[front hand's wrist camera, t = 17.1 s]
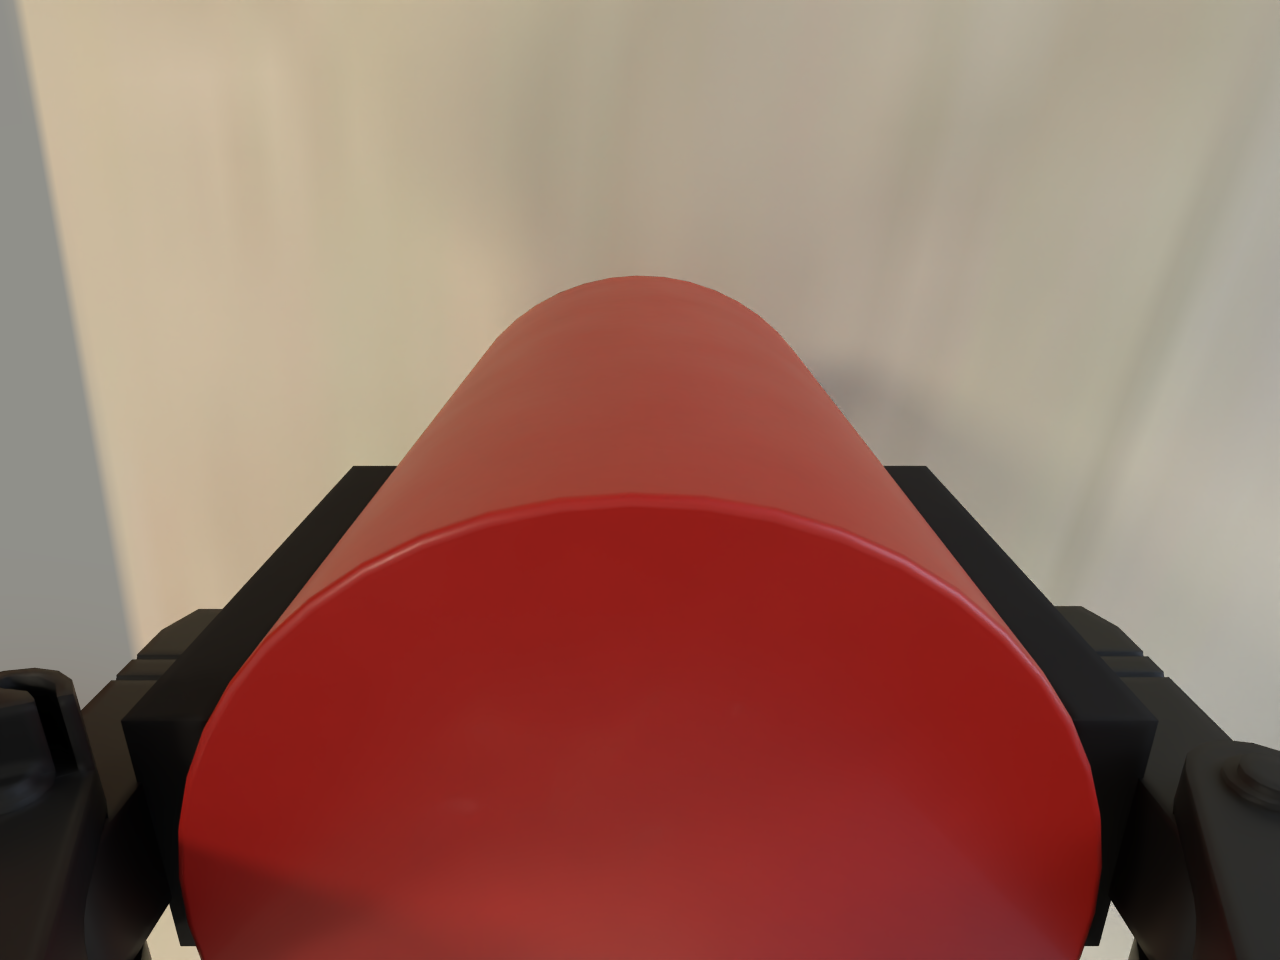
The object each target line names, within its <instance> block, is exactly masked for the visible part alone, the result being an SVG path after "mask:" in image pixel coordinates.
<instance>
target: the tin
mask: <svg viewBox="0 0 1280 960" xmlns="http://www.w3.org/2000/svg"><path fill="white" fill-rule="evenodd" d="M178 845H179V880H180V886H181V891H182V896H183V901H184V906H185V912H186V917H187V922H188V925H189V928H190V931H191V934H192V936H193V939H194V942H195V944H196V947H197V950H198V953H199V955H200V958H201V960H1079V959H1080V957H1081V955H1082V951H1083V948H1084V945H1085V942H1086V939H1087V936H1088V933H1089V930H1090V927H1091V924H1092V921H1093V918H1094V915H1095V910H1096V903H1097V897H1098V890H1099V883H1100V877H1101V870H1102V851H1101V818H1100V811H1099V806H1098V801H1097V796H1096V791H1095V786H1094V781H1093V776H1092V772H1091V767H1090V764H1089V761H1088V759H1087V756H1086V754H1085V751H1084V749H1083V746H1082V743H1081V741H1080V738H1079V736H1078V733H1077V731H1076V728H1075V726H1074V723H1073V721H1072V718H1071V717H1070V715H1069V713H1068V712H1067V710H1066V708H1065V707H1064V705H1063V703H1062V702H1061V700H1060V699H1059V697H1058V695H1057V694H1056V692H1055V690H1054V689H1053V687H1052V685H1051V684H1050V682H1049V681H1048V679H1047V677H1046V676H1045V674H1044V672H1043V671H1042V670H1041V668H1040V667H1039V666H1038V665H1037V663H1036V662H1035V661H1034V659H1033V658H1032V657H1031V656H1030V654H1029V653H1028V652H1027V650H1026V649H1025V648H1024V647H1023V645H1022V644H1021V643H1020V641H1019V640H1018V639H1017V638H1016V636H1015V635H1014V634H1013V632H1012V631H1011V630H1010V629H1009V627H1008V626H1007V625H1006V623H1005V622H1004V621H1003V620H1002V618H1001V617H1000V616H999V614H998V613H997V612H996V611H995V609H994V608H993V607H992V605H991V604H990V603H989V602H988V600H987V599H986V598H985V596H984V595H983V594H982V593H981V591H980V590H979V589H978V587H977V586H976V585H975V584H974V582H973V581H972V580H971V578H970V577H969V576H968V575H967V573H966V572H965V571H964V569H963V568H962V567H961V566H960V564H959V563H958V562H957V560H956V559H955V558H954V557H953V555H952V554H951V553H950V551H949V550H948V549H947V548H946V546H945V545H944V544H943V542H942V541H941V540H940V539H939V537H938V536H937V535H936V533H935V532H934V531H933V530H932V528H931V527H930V526H929V524H928V523H927V522H926V521H925V519H924V518H923V517H922V515H921V514H920V513H919V511H918V510H917V509H916V508H915V506H914V505H913V504H912V502H911V501H910V500H909V499H908V497H907V496H906V495H905V493H904V492H903V491H902V490H901V488H900V487H899V486H898V484H897V483H896V482H895V481H894V479H893V478H892V477H891V475H890V474H889V473H888V472H887V470H886V469H885V468H884V466H883V465H882V464H881V463H880V461H879V460H878V459H877V457H876V456H875V455H874V454H873V452H872V451H871V450H870V448H869V447H868V446H867V445H866V443H865V442H864V441H863V439H862V438H861V437H860V436H859V434H858V433H857V432H856V430H855V429H854V428H853V427H852V425H851V424H850V423H849V421H848V420H847V419H846V418H845V416H844V415H843V414H842V412H841V411H840V410H839V409H838V407H837V406H836V405H835V403H834V402H833V401H832V400H831V398H830V397H829V396H828V394H827V393H826V392H825V391H824V389H823V388H822V387H821V385H820V384H819V383H818V382H817V380H816V379H815V378H814V376H813V375H812V374H811V373H810V371H809V370H808V369H807V367H806V366H805V365H804V364H803V362H802V361H801V360H800V358H799V357H798V356H797V355H796V353H795V352H794V351H793V350H792V348H791V347H790V346H789V345H788V344H787V343H786V341H785V340H784V339H783V338H782V337H781V336H780V334H779V333H778V332H777V331H776V330H774V329H773V328H772V327H771V326H770V325H769V324H768V323H767V322H766V321H764V320H763V319H762V318H761V317H760V316H759V315H757V314H756V313H754V312H753V311H751V310H750V309H748V308H747V307H745V306H744V305H742V304H741V303H739V302H738V301H736V300H734V299H731V298H729V297H727V296H725V295H723V294H721V293H719V292H717V291H715V290H712V289H709V288H706V287H703V286H700V285H697V284H694V283H691V282H687V281H682V280H676V279H671V278H665V277H651V276H628V277H616V278H608V279H603V280H599V281H594V282H590V283H585V284H582V285H580V286H577V287H574V288H571V289H569V290H566V291H563V292H560V293H558V294H556V295H555V296H553V297H551V298H549V299H547V300H545V301H543V302H541V303H539V304H538V305H536V306H535V307H533V308H532V309H530V310H529V311H528V312H526V313H525V314H523V315H522V316H521V317H519V318H518V319H516V320H515V321H514V322H513V323H512V324H511V325H510V326H509V327H508V328H507V329H506V330H505V331H504V332H503V333H502V334H501V335H500V336H499V337H498V338H497V339H496V340H495V341H494V343H493V344H492V345H491V346H490V348H489V349H488V350H487V351H486V353H485V354H484V355H483V356H482V358H481V359H480V360H479V362H478V363H477V364H476V365H475V367H474V368H473V369H472V371H471V372H470V373H469V375H468V376H467V377H466V378H465V380H464V381H463V382H462V384H461V385H460V386H459V387H458V389H457V390H456V391H455V393H454V394H453V395H452V396H451V398H450V399H449V400H448V402H447V403H446V404H445V405H444V407H443V408H442V409H441V411H440V412H439V413H438V414H437V416H436V417H435V418H434V420H433V421H432V422H431V423H430V425H429V426H428V427H427V429H426V430H425V431H424V432H423V434H422V435H421V436H420V438H419V439H418V440H417V441H416V443H415V444H414V445H413V447H412V448H411V449H410V450H409V452H408V453H407V454H406V456H405V457H404V458H403V460H402V461H401V462H400V463H399V465H398V466H397V467H396V469H395V470H394V471H393V472H392V474H391V475H390V476H389V478H388V479H387V480H386V481H385V483H384V484H383V485H382V487H381V488H380V489H379V490H378V492H377V493H376V494H375V496H374V497H373V498H372V499H371V501H370V502H369V503H368V505H367V506H366V507H365V508H364V510H363V511H362V512H361V514H360V515H359V516H358V517H357V519H356V520H355V521H354V523H353V524H352V525H351V526H350V528H349V529H348V530H347V532H346V533H345V534H344V536H343V537H342V538H341V539H340V541H339V542H338V543H337V545H336V546H335V547H334V548H333V550H332V551H331V552H330V554H329V555H328V556H327V557H326V559H325V560H324V561H323V563H322V564H321V565H320V566H319V568H318V569H317V570H316V572H315V573H314V574H313V575H312V577H311V578H310V579H309V581H308V582H307V583H306V584H305V586H304V587H303V588H302V590H301V591H300V592H299V593H298V595H297V596H296V597H295V599H294V600H293V601H292V602H291V604H290V605H289V606H288V608H287V609H286V610H285V612H284V613H283V614H282V615H281V617H280V618H279V619H278V621H277V622H276V623H275V624H274V626H273V627H272V628H271V630H270V631H269V632H268V633H267V635H266V636H265V637H264V639H263V640H262V641H261V642H260V644H259V645H258V646H257V648H256V649H255V650H254V651H253V653H252V654H251V655H250V657H249V658H248V659H247V660H246V662H245V663H244V664H243V666H242V667H241V668H240V669H239V671H238V672H237V673H236V675H235V676H234V677H233V678H232V680H231V681H230V682H229V684H228V686H227V687H226V689H225V691H224V693H223V695H222V696H221V698H220V700H219V702H218V704H217V705H216V707H215V709H214V711H213V713H212V714H211V716H210V718H209V720H208V722H207V723H206V725H205V727H204V729H203V731H202V734H201V737H200V740H199V743H198V746H197V749H196V751H195V754H194V757H193V760H192V763H191V766H190V769H189V772H188V774H187V778H186V784H185V790H184V796H183V803H182V809H181V815H180V821H179V829H178Z"/></svg>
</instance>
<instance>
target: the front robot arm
mask: <svg viewBox="0 0 1280 960" xmlns="http://www.w3.org/2000/svg"><path fill="white" fill-rule="evenodd" d="M396 467H397V466H353V467H352V468H351V469H350V470H349V471H348V472H347V474H346V475H345V476H344V477H343V478H342V479H341V480H340V481H339V482H338V483H337V484H336V486H335V487H334V488H333V489H332V490H331V491H330V492H329V493H328V494H327V495H326V497H325V498H324V499H323V500H322V501H321V502H320V503H319V504H318V505H317V506H316V507H315V509H314V510H313V511H312V512H311V513H310V514H309V515H308V516H307V517H306V518H305V520H304V521H303V522H302V523H301V524H300V525H299V526H298V527H297V528H296V529H295V530H294V532H293V533H292V534H291V535H290V536H289V537H288V538H287V539H286V540H285V541H284V542H283V544H282V545H281V546H280V547H279V548H278V549H277V550H276V551H275V552H274V553H273V555H272V556H271V557H270V558H269V559H268V560H267V561H266V562H265V563H264V564H263V565H262V567H261V568H260V569H259V570H258V571H257V572H256V573H255V574H254V575H253V576H252V577H251V579H250V580H249V581H248V582H247V583H246V584H245V585H244V586H243V587H242V588H241V590H240V591H239V592H238V593H237V594H236V595H235V596H234V597H233V598H232V599H231V600H230V602H229V603H228V604H227V605H226V606H225V607H224V608H223V609H198V610H196V611H194V612H193V613H191V614H189V615H187V616H186V617H184V618H182V619H180V620H179V621H177V622H175V623H173V624H172V625H170V626H168V627H166V628H164V629H163V630H161V631H160V632H159V633H158V634H157V635H156V636H155V637H154V638H153V639H152V640H151V641H150V642H149V643H148V644H147V645H146V646H145V647H144V648H143V649H142V650H141V651H140V652H139V653H138V654H137V659H136V660H131V661H130V662H129V663H128V664H127V665H126V666H125V667H124V668H123V669H122V670H121V671H120V672H119V673H118V674H117V678H116V680H115V681H114V680H111V681H110V682H109V683H108V684H107V685H106V686H105V687H104V688H103V689H102V690H101V691H100V692H99V693H98V694H97V695H96V696H95V697H94V698H93V699H92V700H91V701H90V702H89V703H88V704H87V705H86V706H85V707H84V708H83V709H82V710H80V706H79V703H78V699H77V696H76V692H75V689H74V685H73V682H72V680H71V679H70V678H68V677H67V676H65V675H64V674H62V673H61V672H59V671H55V670H48V669H40V668H29V669H19V670H9V671H2V672H0V960H152V959H151V955H150V952H149V948H148V944H147V941H146V939H147V938H148V936H149V935H150V933H151V931H152V930H153V928H154V927H155V925H156V923H157V922H158V920H159V919H160V917H161V916H162V914H163V912H164V911H165V909H166V908H167V906H168V904H169V905H170V908H171V912H172V916H173V920H174V923H175V927H176V931H177V935H178V938H179V942H180V946H196V944H195V942H194V939H193V936H192V934H191V931H190V928H189V925H188V922H187V917H186V912H185V906H184V901H183V896H182V891H181V886H180V880H179V845H178V829H179V821H180V815H181V809H182V803H183V796H184V790H185V784H186V778H187V774H188V772H189V769H190V766H191V763H192V760H193V757H194V754H195V751H196V749H197V746H198V743H199V740H200V737H201V734H202V731H203V729H204V727H205V725H206V723H207V722H208V720H209V718H210V716H211V714H212V713H213V711H214V709H215V707H216V705H217V704H218V702H219V700H220V698H221V696H222V695H223V693H224V691H225V689H226V687H227V686H228V684H229V682H230V681H231V680H232V678H233V677H234V676H235V675H236V673H237V672H238V671H239V669H240V668H241V667H242V666H243V664H244V663H245V662H246V660H247V659H248V658H249V657H250V655H251V654H252V653H253V651H254V650H255V649H256V648H257V646H258V645H259V644H260V642H261V641H262V640H263V639H264V637H265V636H266V635H267V633H268V632H269V631H270V630H271V628H272V627H273V626H274V624H275V623H276V622H277V621H278V619H279V618H280V617H281V615H282V614H283V613H284V612H285V610H286V609H287V608H288V606H289V605H290V604H291V602H292V601H293V600H294V599H295V597H296V596H297V595H298V593H299V592H300V591H301V590H302V588H303V587H304V586H305V584H306V583H307V582H308V581H309V579H310V578H311V577H312V575H313V574H314V573H315V572H316V570H317V569H318V568H319V566H320V565H321V564H322V563H323V561H324V560H325V559H326V557H327V556H328V555H329V554H330V552H331V551H332V550H333V548H334V547H335V546H336V545H337V543H338V542H339V541H340V539H341V538H342V537H343V536H344V534H345V533H346V532H347V530H348V529H349V528H350V526H351V525H352V524H353V523H354V521H355V520H356V519H357V517H358V516H359V515H360V514H361V512H362V511H363V510H364V508H365V507H366V506H367V505H368V503H369V502H370V501H371V499H372V498H373V497H374V496H375V494H376V493H377V492H378V490H379V489H380V488H381V487H382V485H383V484H384V483H385V481H386V480H387V479H388V478H389V476H390V475H391V474H392V472H393V471H394V470H395V469H396ZM884 468H885V469H886V470H887V472H888V473H889V474H890V475H891V477H892V478H893V479H894V481H895V482H896V483H897V484H898V486H899V487H900V488H901V490H902V491H903V492H904V493H905V495H906V496H907V497H908V499H909V500H910V501H911V502H912V504H913V505H914V506H915V508H916V509H917V510H918V511H919V513H920V514H921V515H922V517H923V518H924V519H925V521H926V522H927V523H928V524H929V526H930V527H931V528H932V530H933V531H934V532H935V533H936V535H937V536H938V537H939V539H940V540H941V541H942V542H943V544H944V545H945V546H946V548H947V549H948V550H949V551H950V553H951V554H952V555H953V557H954V558H955V559H956V560H957V562H958V563H959V564H960V566H961V567H962V568H963V569H964V571H965V572H966V573H967V575H968V576H969V577H970V578H971V580H972V581H973V582H974V584H975V585H976V586H977V587H978V589H979V590H980V591H981V593H982V594H983V595H984V596H985V598H986V599H987V600H988V602H989V603H990V604H991V605H992V607H993V608H994V609H995V611H996V612H997V613H998V614H999V616H1000V617H1001V618H1002V620H1003V621H1004V622H1005V623H1006V625H1007V626H1008V627H1009V629H1010V630H1011V631H1012V632H1013V634H1014V635H1015V636H1016V638H1017V639H1018V640H1019V641H1020V643H1021V644H1022V645H1023V647H1024V648H1025V649H1026V650H1027V652H1028V653H1029V654H1030V656H1031V657H1032V658H1033V659H1034V661H1035V662H1036V663H1037V665H1038V666H1039V667H1040V668H1041V670H1042V671H1043V672H1044V674H1045V676H1046V677H1047V679H1048V681H1049V682H1050V684H1051V685H1052V687H1053V689H1054V690H1055V692H1056V694H1057V695H1058V697H1059V699H1060V700H1061V702H1062V703H1063V705H1064V707H1065V708H1066V710H1067V712H1068V713H1069V715H1070V717H1071V718H1072V721H1073V723H1074V726H1075V728H1076V731H1077V733H1078V736H1079V738H1080V741H1081V743H1082V746H1083V749H1084V751H1085V754H1086V756H1087V759H1088V761H1089V764H1090V767H1091V772H1092V776H1093V781H1094V786H1095V791H1096V796H1097V801H1098V806H1099V811H1100V818H1101V851H1102V870H1101V877H1100V883H1099V890H1098V897H1097V903H1096V910H1095V915H1094V918H1093V921H1092V924H1091V927H1090V930H1089V933H1088V936H1087V939H1086V942H1085V945H1084V946H1099V943H1100V940H1101V936H1102V932H1103V928H1104V925H1105V921H1106V917H1107V913H1108V910H1109V906H1110V902H1111V901H1112V902H1113V904H1114V906H1115V907H1116V909H1117V910H1118V912H1119V913H1120V915H1121V917H1122V918H1123V920H1124V921H1125V923H1126V925H1127V926H1128V928H1129V929H1130V931H1131V933H1132V934H1133V936H1134V941H1133V944H1132V948H1131V952H1130V955H1129V959H1128V960H1280V751H1278V750H1274V749H1271V748H1268V747H1264V746H1261V745H1258V744H1254V743H1247V742H1239V741H1233V740H1232V739H1231V738H1230V737H1229V736H1228V735H1227V734H1226V733H1225V732H1224V731H1223V730H1222V729H1221V728H1220V727H1219V726H1218V725H1217V724H1216V723H1215V722H1214V721H1213V720H1212V719H1211V718H1210V717H1209V716H1208V715H1207V714H1206V713H1204V712H1203V711H1202V710H1201V709H1200V708H1199V707H1198V706H1197V705H1196V704H1195V703H1194V702H1193V701H1192V700H1191V699H1190V698H1189V697H1188V696H1187V695H1186V694H1185V693H1184V692H1183V691H1182V690H1181V689H1180V688H1179V687H1178V686H1177V685H1176V684H1175V683H1174V682H1173V681H1172V680H1171V679H1170V678H1169V677H1164V672H1163V671H1162V670H1161V669H1160V668H1159V667H1158V666H1157V665H1156V664H1155V663H1154V662H1153V661H1152V660H1151V659H1150V658H1149V657H1148V656H1143V651H1142V650H1141V649H1140V648H1139V647H1138V646H1137V645H1136V644H1135V643H1134V642H1133V641H1132V640H1131V639H1130V638H1129V637H1128V636H1127V635H1126V634H1125V633H1124V632H1123V631H1122V630H1121V629H1120V628H1119V627H1117V626H1115V625H1114V624H1112V623H1110V622H1108V621H1107V620H1105V619H1103V618H1101V617H1100V616H1098V615H1096V614H1094V613H1092V612H1091V611H1089V610H1087V609H1085V608H1084V607H1082V606H1053V604H1052V603H1051V602H1050V601H1049V600H1048V599H1047V598H1046V597H1045V596H1044V595H1043V593H1042V592H1041V591H1040V590H1039V589H1038V588H1037V587H1036V586H1035V585H1034V584H1033V583H1032V581H1031V580H1030V579H1029V578H1028V577H1027V576H1026V575H1025V574H1024V573H1023V572H1022V570H1021V569H1020V568H1019V567H1018V566H1017V565H1016V564H1015V563H1014V562H1013V561H1012V560H1011V558H1010V557H1009V556H1008V555H1007V554H1006V553H1005V552H1004V551H1003V550H1002V549H1001V548H1000V546H999V545H998V544H997V543H996V542H995V541H994V540H993V539H992V538H991V537H990V535H989V534H988V533H987V532H986V531H985V530H984V529H983V528H982V527H981V526H980V525H979V523H978V522H977V521H976V520H975V519H974V518H973V517H972V516H971V515H970V514H969V512H968V511H967V510H966V509H965V508H964V507H963V506H962V505H961V504H960V503H959V502H958V500H957V499H956V498H955V497H954V496H953V495H952V494H951V493H950V492H949V491H948V489H947V488H946V487H945V486H944V485H943V484H942V483H941V482H940V481H939V480H938V479H937V477H936V476H935V475H934V474H933V473H932V472H931V471H930V470H929V469H928V468H927V467H926V466H884Z"/></svg>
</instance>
